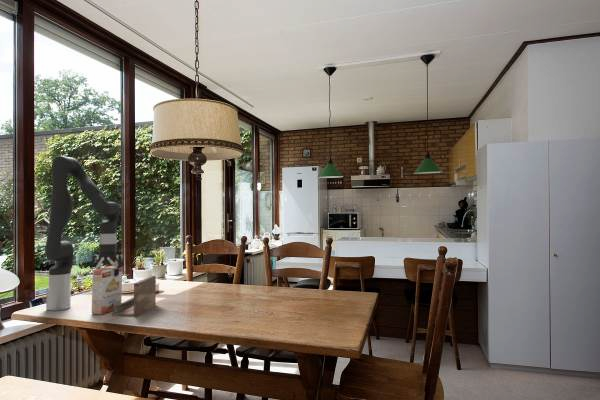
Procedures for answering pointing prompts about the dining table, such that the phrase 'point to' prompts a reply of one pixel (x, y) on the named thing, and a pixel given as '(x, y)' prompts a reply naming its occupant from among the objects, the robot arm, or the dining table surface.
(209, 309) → the dining table surface
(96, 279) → the cracker box
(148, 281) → the grey l-shaped bracket
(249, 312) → the dining table surface
